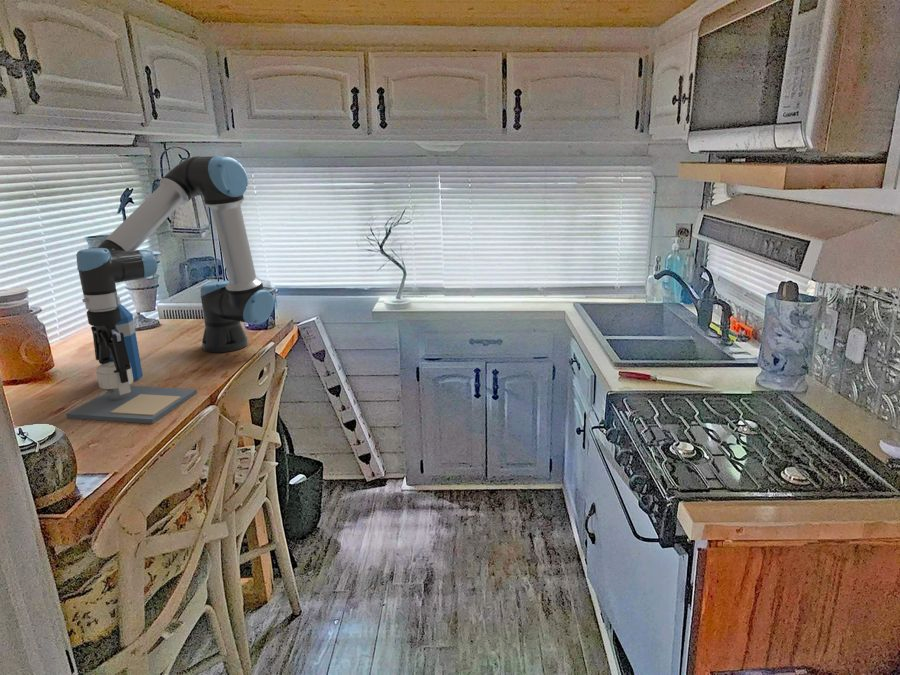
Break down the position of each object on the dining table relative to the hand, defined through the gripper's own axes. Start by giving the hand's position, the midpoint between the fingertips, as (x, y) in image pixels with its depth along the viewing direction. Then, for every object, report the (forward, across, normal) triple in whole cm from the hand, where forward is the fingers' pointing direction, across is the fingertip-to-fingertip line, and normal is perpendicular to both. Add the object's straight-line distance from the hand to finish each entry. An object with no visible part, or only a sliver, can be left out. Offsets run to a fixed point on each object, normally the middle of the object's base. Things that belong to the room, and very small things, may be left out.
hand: (117, 389), depth 158 cm
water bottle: (+4, -17, +9) cm, 19 cm away
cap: (-2, 0, 0) cm, 2 cm away
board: (+3, +6, +1) cm, 7 cm away
